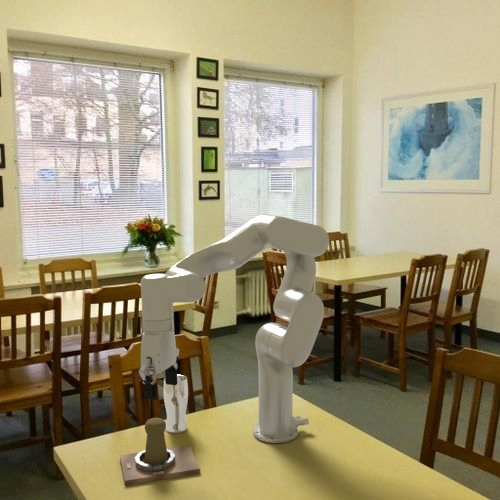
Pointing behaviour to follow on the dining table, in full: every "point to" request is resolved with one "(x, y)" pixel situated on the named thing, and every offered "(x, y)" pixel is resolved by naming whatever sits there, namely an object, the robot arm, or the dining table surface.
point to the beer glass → (176, 404)
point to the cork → (155, 441)
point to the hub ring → (154, 467)
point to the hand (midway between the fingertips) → (161, 391)
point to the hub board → (181, 467)
